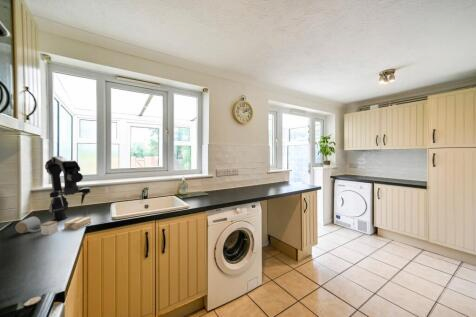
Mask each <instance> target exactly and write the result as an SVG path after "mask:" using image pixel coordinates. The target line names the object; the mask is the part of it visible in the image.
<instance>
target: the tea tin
mask: <svg viewBox="0 0 476 317" xmlns="http://www.w3.org/2000/svg"><path fill="white" fill-rule="evenodd" d="M40 231H41V235H45V236H46V235H52V234H54V233H57V232H58V231H59V228H58V221H51V220H48V221H46V222H44V223H41V230H40Z"/></svg>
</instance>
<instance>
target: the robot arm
mask: <svg viewBox="0 0 476 317" xmlns="http://www.w3.org/2000/svg"><path fill="white" fill-rule="evenodd" d="M44 168H45V170H46V173H48V175H49V176H50V181H51V187H52V191H51V192H50V193H49V198H50V199H51V200H50V204H49V206H48V212H49V213H51V214H52V219H51V220H50V221H57V222H59V221H62V220H65V219H68V218H69V217H68V216H67V213H66V210H68V208H69V202H68V200H67V198H66V197H65V196H69V195H75V194H78V193H79V194H80V193H81V199H80V200H81V201H80V203H81V205H83V204H84V200H85V197H86V195H88V194H89V193H91V187H90V186H89V187H87V186H86V187H82V188H81V189H80V187H79V185H78V183H80V182H82V180H84V176H83V174H82V173H80V171H81V167H80V165H79V163H78V162H77V161H76V160H74V159H73V160H72V159H71V160H68V159H67V158H65V157H63V156H61V155H60V156H52V157H51V158H50V159H49V160H48V161H45V164H44ZM61 174H63V182H64V187H63V188H62V180H61V179H62V178H61Z"/></svg>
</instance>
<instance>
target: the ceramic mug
mask: <svg viewBox="0 0 476 317" xmlns="http://www.w3.org/2000/svg"><path fill="white" fill-rule="evenodd" d="M41 222H42V221H41V220H40V218H38V217H37V216H30V217H28V218H26V219H22V220H20V221H18V222H17V223H16V224H15V227H14V228H15V231H16V232H17V233H19V234H27V233H28V232H30V233H37V232H40V231H41V224H42V223H41Z"/></svg>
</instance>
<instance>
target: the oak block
mask: <svg viewBox="0 0 476 317" xmlns="http://www.w3.org/2000/svg"><path fill="white" fill-rule="evenodd" d="M63 223H64V225H63V226H64V230H80V229H81V227H82V226H84V225H86V224H88V223H90V224H92V219H91V217H87V216H86V217H85V216H84V217H80V216H79V217H75V218H73V219H70V220H68V221H65V222H63ZM88 225H89V224H88ZM86 226H87V225H86ZM84 227H85V226H84ZM82 228H83V227H82Z"/></svg>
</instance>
